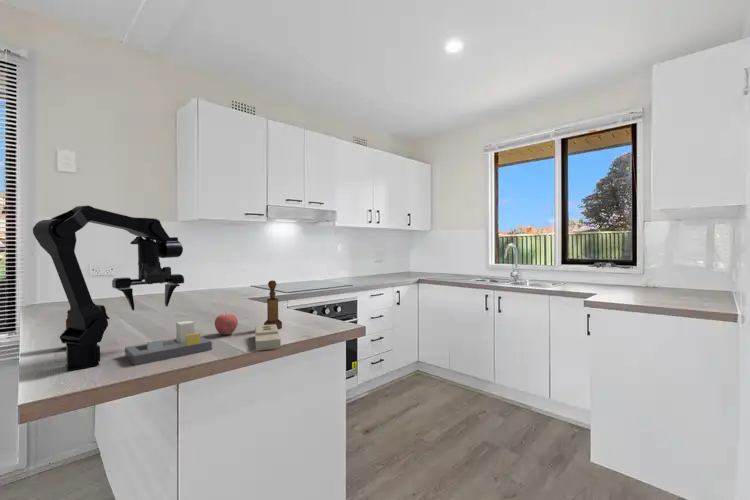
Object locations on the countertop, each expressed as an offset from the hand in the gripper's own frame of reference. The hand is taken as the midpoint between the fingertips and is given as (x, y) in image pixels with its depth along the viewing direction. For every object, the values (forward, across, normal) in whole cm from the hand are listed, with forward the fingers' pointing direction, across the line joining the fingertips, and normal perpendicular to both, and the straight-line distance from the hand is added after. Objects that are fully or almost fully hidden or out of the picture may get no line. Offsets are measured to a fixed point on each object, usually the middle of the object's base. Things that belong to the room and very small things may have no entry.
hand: (150, 308), depth 118 cm
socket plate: (+12, +2, -12) cm, 17 cm away
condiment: (+12, -17, +16) cm, 26 cm away
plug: (+12, +7, -10) cm, 17 cm away
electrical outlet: (+13, +28, -22) cm, 38 cm away
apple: (+12, +23, -2) cm, 26 cm away
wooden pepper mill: (+12, +39, -6) cm, 41 cm away
